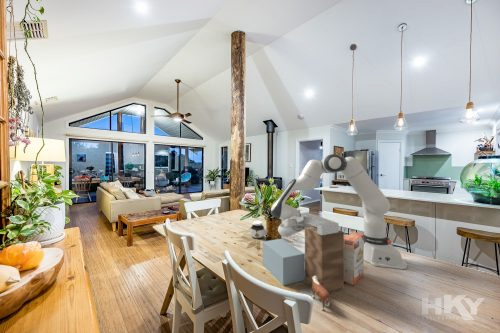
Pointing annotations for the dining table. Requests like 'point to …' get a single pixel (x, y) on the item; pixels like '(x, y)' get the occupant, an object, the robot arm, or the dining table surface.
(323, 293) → the bull figurine
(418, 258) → the dining table surface
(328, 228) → the light gray box
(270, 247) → the gray rectangular box
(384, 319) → the dining table surface
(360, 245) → the cracker box
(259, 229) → the spread jar
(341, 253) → the stand
